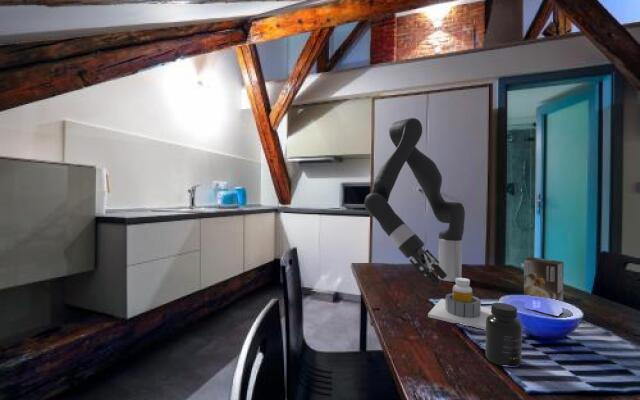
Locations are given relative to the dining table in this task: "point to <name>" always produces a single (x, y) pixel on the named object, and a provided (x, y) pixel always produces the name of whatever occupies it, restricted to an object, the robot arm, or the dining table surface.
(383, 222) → the robot arm
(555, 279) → the coffee box
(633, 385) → the dining table surface
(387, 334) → the dining table surface
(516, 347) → the supplement bottle
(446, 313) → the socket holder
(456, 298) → the supplement bottle
